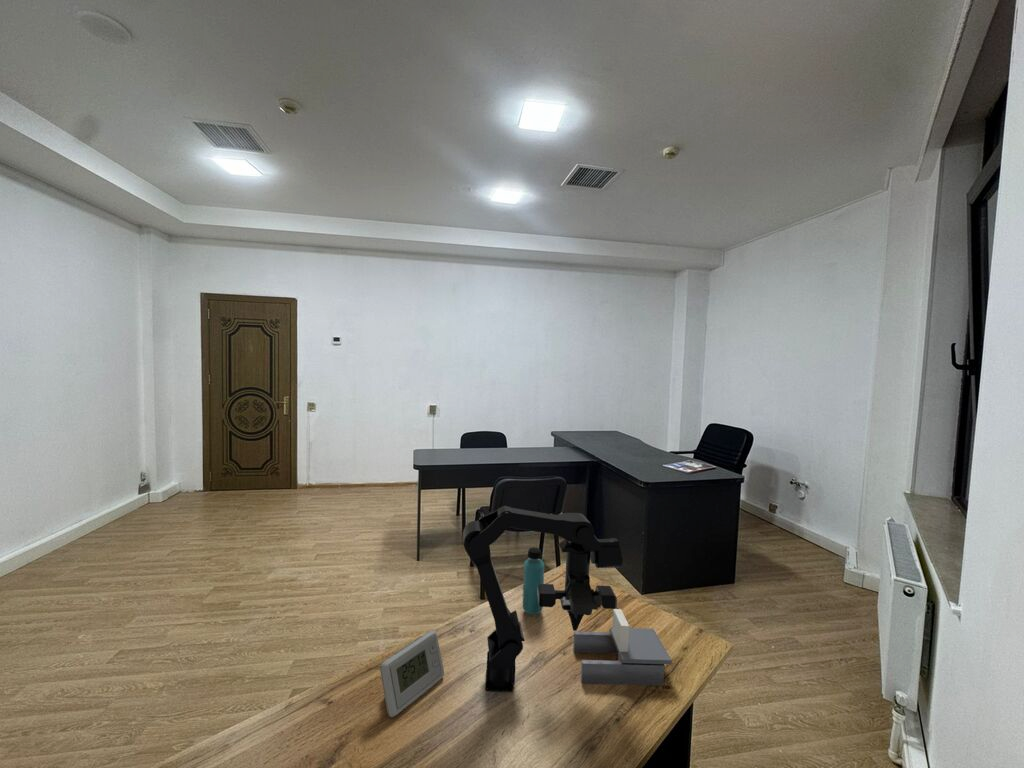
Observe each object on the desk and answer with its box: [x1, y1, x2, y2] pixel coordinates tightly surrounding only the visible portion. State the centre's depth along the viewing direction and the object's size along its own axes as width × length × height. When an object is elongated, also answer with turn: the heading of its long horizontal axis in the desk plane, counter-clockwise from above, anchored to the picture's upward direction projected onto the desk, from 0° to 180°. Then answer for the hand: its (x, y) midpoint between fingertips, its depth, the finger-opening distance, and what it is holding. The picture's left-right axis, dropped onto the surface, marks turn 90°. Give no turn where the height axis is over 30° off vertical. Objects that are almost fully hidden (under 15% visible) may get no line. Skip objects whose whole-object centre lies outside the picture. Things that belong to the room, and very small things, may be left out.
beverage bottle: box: [521, 547, 545, 615], centre depth 126 cm, size 6×7×20 cm
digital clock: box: [379, 629, 445, 718], centre depth 94 cm, size 16×9×11 cm, turn 132°
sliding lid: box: [609, 608, 673, 665], centre depth 105 cm, size 12×12×8 cm
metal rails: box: [572, 630, 666, 687], centre depth 105 cm, size 20×12×5 cm, turn 91°
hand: (574, 629), depth 100 cm, fingers closed
